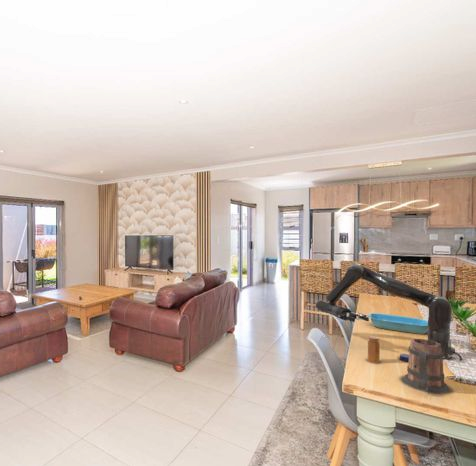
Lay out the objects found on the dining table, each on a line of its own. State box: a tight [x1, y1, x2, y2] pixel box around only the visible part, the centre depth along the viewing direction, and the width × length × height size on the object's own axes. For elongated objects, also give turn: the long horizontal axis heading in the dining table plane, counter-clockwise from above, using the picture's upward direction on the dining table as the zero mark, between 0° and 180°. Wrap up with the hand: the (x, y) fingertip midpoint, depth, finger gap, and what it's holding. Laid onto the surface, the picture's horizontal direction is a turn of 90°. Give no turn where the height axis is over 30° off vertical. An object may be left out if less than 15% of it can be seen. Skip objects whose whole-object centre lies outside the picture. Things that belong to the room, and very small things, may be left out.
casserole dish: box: [366, 312, 428, 335], centre depth 236 cm, size 37×22×7 cm, turn 54°
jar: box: [367, 335, 381, 364], centre depth 180 cm, size 5×5×13 cm
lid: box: [399, 353, 409, 363], centre depth 182 cm, size 6×6×2 cm
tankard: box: [401, 338, 452, 394], centre depth 152 cm, size 24×17×20 cm
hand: (361, 319), depth 192 cm, fingers open, 8 cm apart
